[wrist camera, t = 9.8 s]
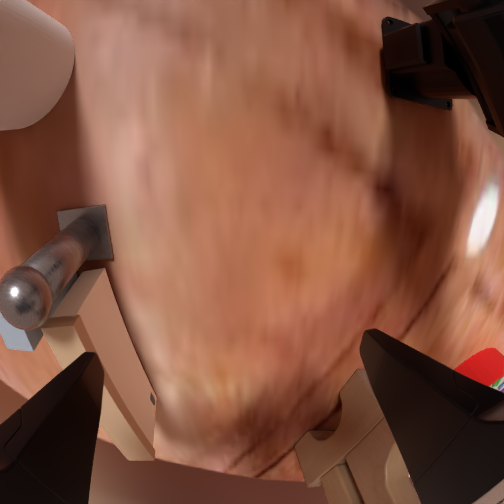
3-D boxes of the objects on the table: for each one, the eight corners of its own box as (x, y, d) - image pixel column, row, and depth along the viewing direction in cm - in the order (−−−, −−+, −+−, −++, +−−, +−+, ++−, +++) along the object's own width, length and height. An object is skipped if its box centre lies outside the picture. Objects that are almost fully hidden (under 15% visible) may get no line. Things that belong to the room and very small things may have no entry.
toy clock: (485, 374, 25) (532, 364, 30) (459, 346, 30) (512, 346, 35) (396, 473, 31) (465, 447, 36) (382, 445, 36) (452, 427, 41)
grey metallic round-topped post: (105, 204, 18) (28, 271, 8) (113, 256, 19) (58, 352, 10) (58, 210, 17) (-31, 275, 8) (68, 260, 18) (-2, 347, 9)
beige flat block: (80, 271, 19) (40, 328, 12) (107, 267, 19) (73, 325, 13) (136, 399, 24) (128, 460, 17) (158, 397, 24) (154, 460, 18)
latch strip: (72, 255, 18) (19, 319, 11) (117, 392, 24) (103, 463, 16) (49, 257, 18) (-7, 318, 11) (98, 391, 23) (81, 460, 16)
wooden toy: (336, 445, 33) (400, 596, 10) (293, 445, 31) (351, 619, 8) (408, 360, 28) (528, 532, 5) (365, 354, 26) (497, 570, 3)
